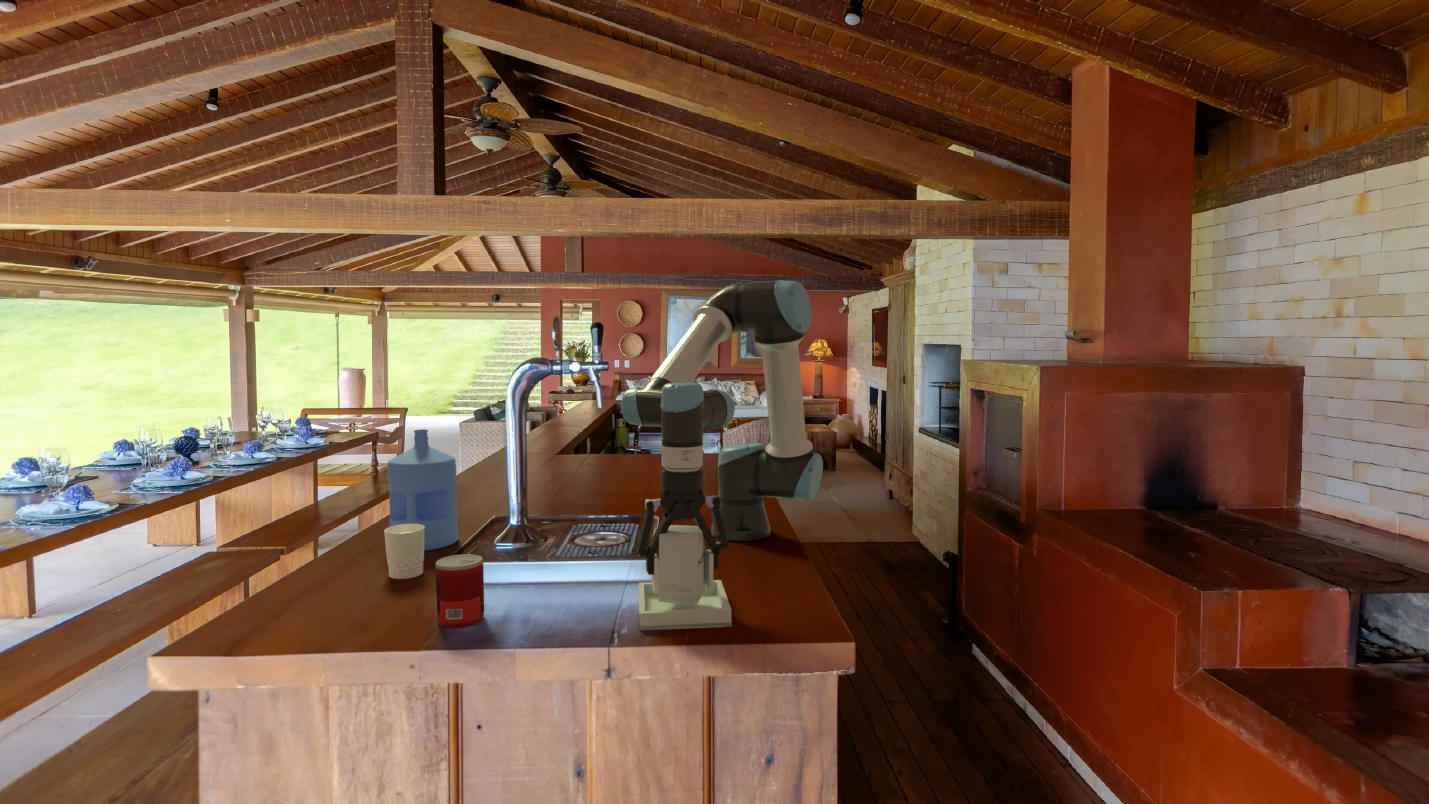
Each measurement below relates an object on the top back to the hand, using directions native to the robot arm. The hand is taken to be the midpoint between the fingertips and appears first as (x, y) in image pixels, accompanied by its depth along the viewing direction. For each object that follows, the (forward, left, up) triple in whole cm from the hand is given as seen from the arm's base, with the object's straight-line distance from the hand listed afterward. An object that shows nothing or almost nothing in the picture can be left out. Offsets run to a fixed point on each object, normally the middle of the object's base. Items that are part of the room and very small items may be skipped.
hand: (682, 588), depth 134 cm
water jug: (+6, -79, -5) cm, 79 cm away
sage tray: (0, 0, -4) cm, 4 cm away
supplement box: (0, 0, -2) cm, 2 cm away
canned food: (+28, -28, -5) cm, 40 cm away
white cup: (+21, -60, -5) cm, 64 cm away
